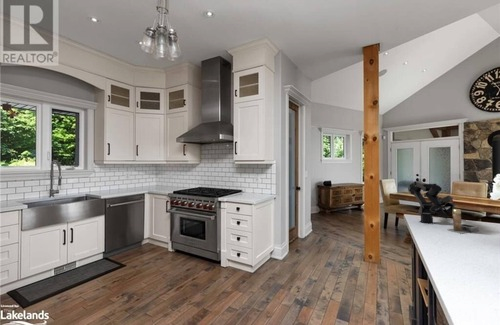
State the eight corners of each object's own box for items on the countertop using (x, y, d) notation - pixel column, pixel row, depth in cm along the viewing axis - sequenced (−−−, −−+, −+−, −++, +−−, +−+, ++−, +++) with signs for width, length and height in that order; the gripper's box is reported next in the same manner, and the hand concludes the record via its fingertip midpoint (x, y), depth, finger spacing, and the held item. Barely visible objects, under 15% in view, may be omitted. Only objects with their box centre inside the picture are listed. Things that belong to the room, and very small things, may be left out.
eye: (456, 229, 153) (456, 224, 153) (463, 227, 155) (463, 223, 155) (471, 232, 145) (471, 228, 145) (478, 231, 148) (478, 226, 148)
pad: (447, 230, 151) (447, 229, 151) (453, 229, 153) (453, 228, 153) (461, 233, 143) (461, 233, 143) (468, 232, 146) (468, 231, 146)
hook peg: (452, 230, 150) (451, 209, 150) (455, 229, 151) (454, 208, 151) (459, 231, 146) (458, 210, 146) (463, 230, 147) (462, 209, 147)
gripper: (434, 192, 153) (454, 212, 142) (451, 190, 159) (471, 209, 149) (422, 202, 160) (440, 221, 150) (439, 200, 167) (457, 218, 156)
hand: (452, 217), depth 151 cm, fingers open, 9 cm apart
